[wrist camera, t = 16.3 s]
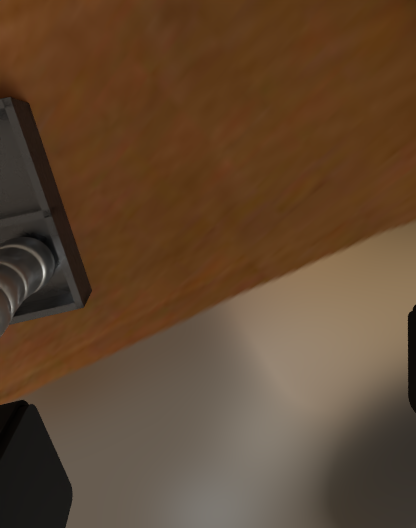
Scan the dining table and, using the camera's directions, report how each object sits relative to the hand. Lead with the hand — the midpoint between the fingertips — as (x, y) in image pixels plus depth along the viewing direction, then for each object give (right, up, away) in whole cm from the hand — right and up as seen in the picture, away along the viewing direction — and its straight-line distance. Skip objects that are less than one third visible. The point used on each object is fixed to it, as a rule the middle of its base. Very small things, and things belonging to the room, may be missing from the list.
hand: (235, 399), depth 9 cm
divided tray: (-23, +9, +32) cm, 41 cm away
